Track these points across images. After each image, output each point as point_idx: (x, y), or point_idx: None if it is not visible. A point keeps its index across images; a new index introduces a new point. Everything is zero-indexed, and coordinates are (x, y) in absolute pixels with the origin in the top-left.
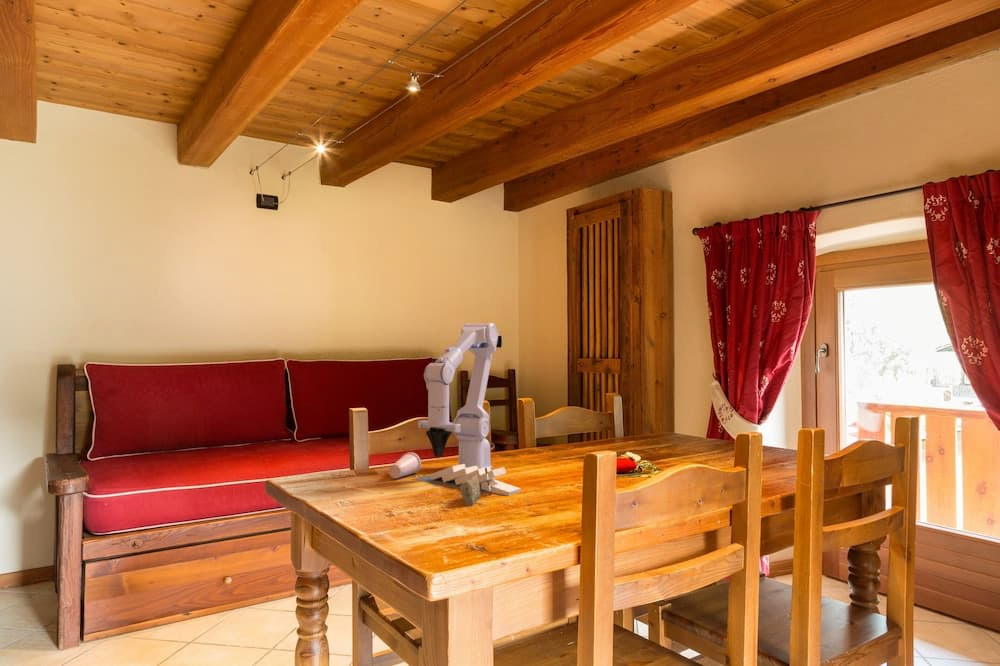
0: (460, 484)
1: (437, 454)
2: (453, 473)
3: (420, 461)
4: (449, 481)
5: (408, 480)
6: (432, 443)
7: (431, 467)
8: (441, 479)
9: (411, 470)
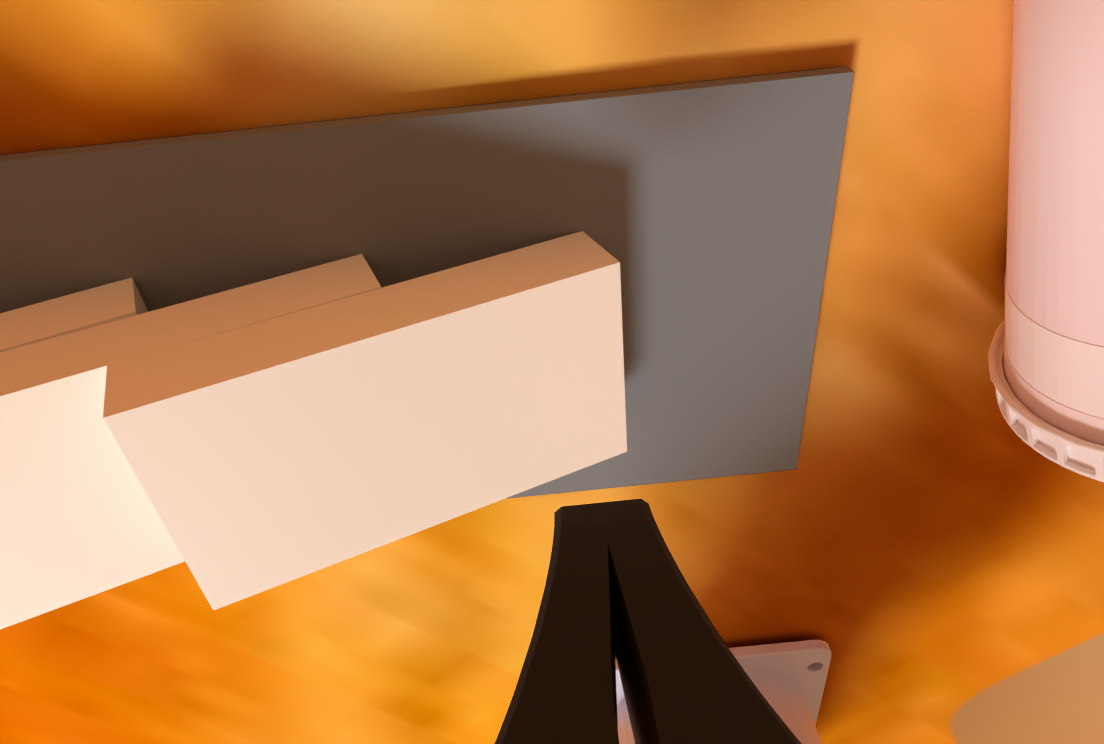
0: None
1: (555, 537)
2: (123, 353)
3: (1041, 446)
4: None
5: (899, 51)
6: (700, 704)
7: (1056, 579)
8: None
9: (1009, 216)
